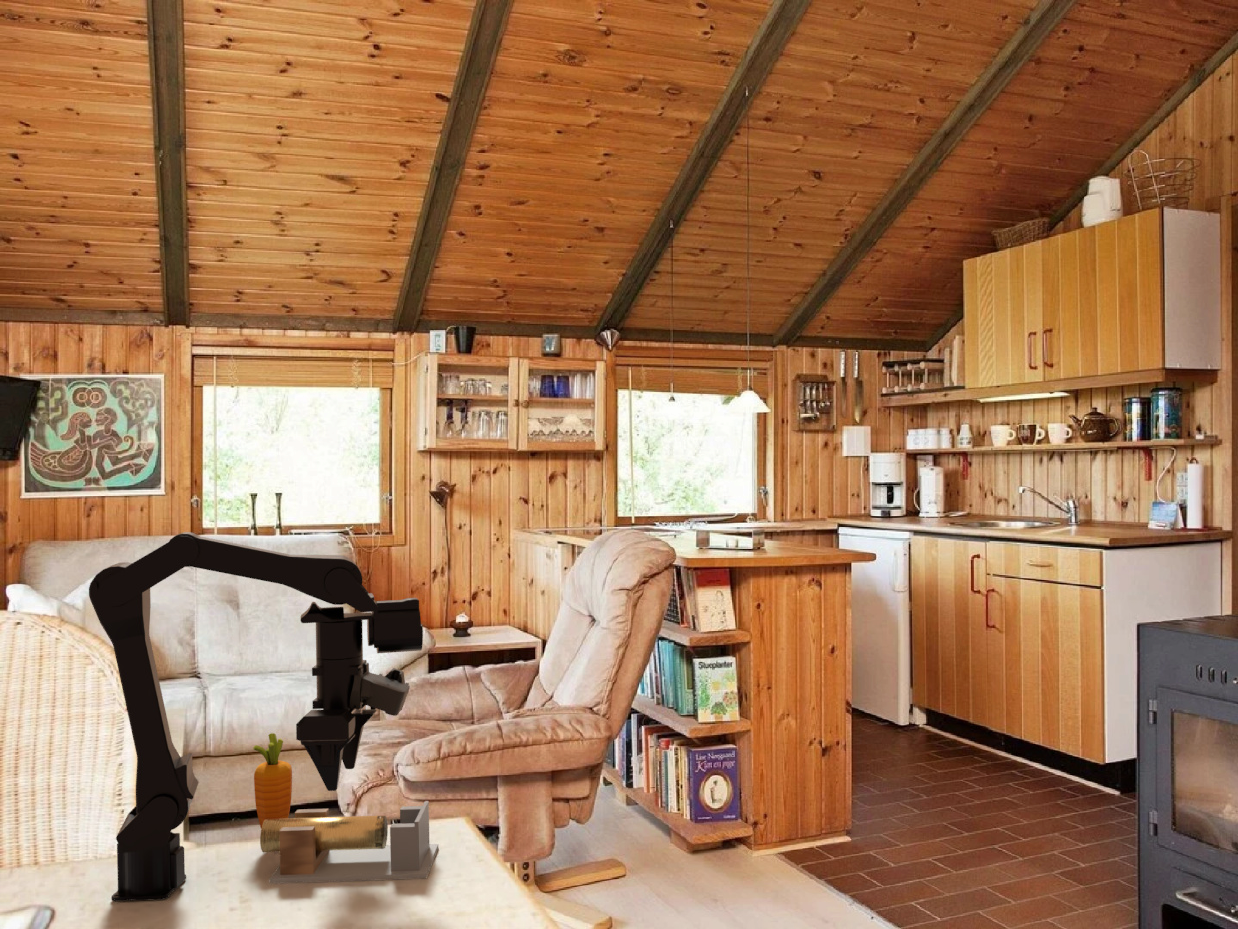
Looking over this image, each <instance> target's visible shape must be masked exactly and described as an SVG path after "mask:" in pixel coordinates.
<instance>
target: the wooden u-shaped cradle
mask: <svg viewBox="0 0 1238 929" xmlns="http://www.w3.org/2000/svg"><path fill="white" fill-rule="evenodd" d="M329 810H330V809H329V808H307V809H305V808H304V809H296V811H295V812H294V818H317V817H330V813H329ZM279 835H280V852H279V866H280V875H296V874H313V873H314V872H315V871H316V869H317V868H318V866H319V865H320V863H321V862H322V860H323V859H324V857H325V856H326V854H327V853H328V851H316V848H315V826H309V827H282V829H281V830H280V831H279Z"/></svg>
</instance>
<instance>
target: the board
mask: <svg viewBox="0 0 1238 929" xmlns="http://www.w3.org/2000/svg"><path fill="white" fill-rule="evenodd" d="M429 845H430V847H429V849H428V852H427V854H426V856H425V859H424V861H423V864H422V866H421V868H420V871H391V849H390V844H389V845H387V844H386V846H385V848H384V849H361V850H329V851H328V853H327V854H326V856H325V857H324V859H323V860H322V862H321V863H320V865H319V866H318V868H317V869H316V871H315V872H314V873H313V874H296V875H280V865H279V866H278V867H277V868H276V869H275V871H274V872H273V874H272V875H271V876H270V877H269V884H289V883H291V884H292V883H293V884H294V883H295V884H296V883H319V882H320V883H325V882H326V883H327V882H351V881H352V882H357V881H385V880H386V881H387V880H388V881H389V880H391V881H392V880H413V879H414V880H416V879H417V880H419V879H428V876H429V873H430V872H431V868H432V865H433V863H434V861H435V858H436V856H437V853H438V850H439V843H429Z"/></svg>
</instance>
